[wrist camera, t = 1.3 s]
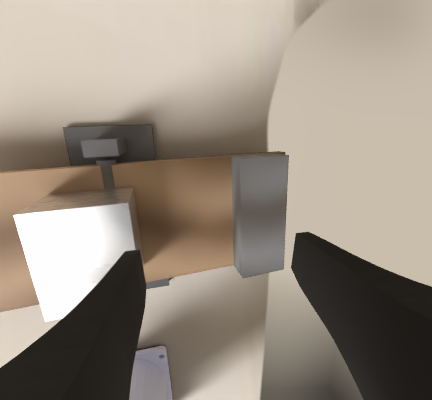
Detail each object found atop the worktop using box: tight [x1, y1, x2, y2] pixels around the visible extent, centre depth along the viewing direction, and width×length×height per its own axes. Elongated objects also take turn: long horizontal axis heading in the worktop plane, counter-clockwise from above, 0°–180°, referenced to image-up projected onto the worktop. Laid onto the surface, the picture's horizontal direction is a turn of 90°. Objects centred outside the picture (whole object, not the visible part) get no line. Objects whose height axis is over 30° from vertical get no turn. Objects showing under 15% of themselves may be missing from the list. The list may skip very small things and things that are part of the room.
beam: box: [0, 151, 289, 312], centre depth 16 cm, size 10×26×3 cm, turn 92°
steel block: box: [14, 187, 145, 322], centre depth 14 cm, size 6×5×4 cm
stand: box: [63, 124, 169, 289], centre depth 18 cm, size 14×6×4 cm, turn 2°
